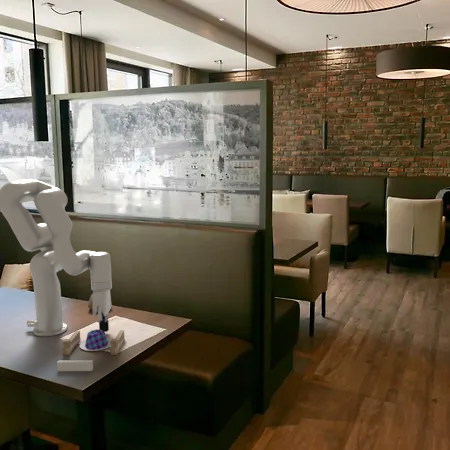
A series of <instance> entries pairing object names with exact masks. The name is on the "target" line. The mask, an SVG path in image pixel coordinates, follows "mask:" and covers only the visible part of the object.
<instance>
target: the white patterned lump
mask: <svg viewBox="0 0 450 450" xmlns="http://www.w3.org/2000/svg"><path fill="white" fill-rule="evenodd" d="M111 306H112V302H111ZM87 307H88V309H90V310H93V293H92V294H91V295H90V298H89V299H88V302H87Z"/></svg>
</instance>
